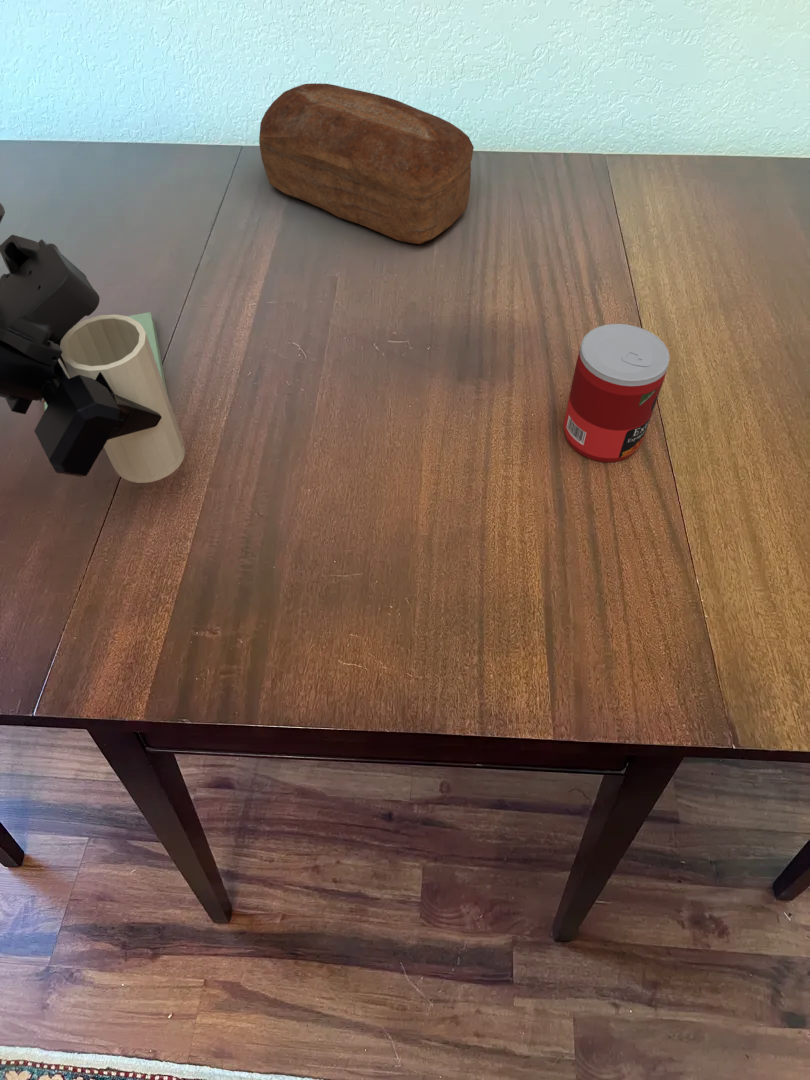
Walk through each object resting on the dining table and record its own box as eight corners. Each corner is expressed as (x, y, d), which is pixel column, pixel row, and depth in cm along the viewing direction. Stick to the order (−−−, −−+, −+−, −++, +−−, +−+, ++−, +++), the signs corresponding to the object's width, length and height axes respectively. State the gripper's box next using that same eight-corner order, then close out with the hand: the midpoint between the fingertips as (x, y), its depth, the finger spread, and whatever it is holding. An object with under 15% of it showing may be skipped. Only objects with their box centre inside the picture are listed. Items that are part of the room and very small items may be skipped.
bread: (424, 264, 96) (425, 167, 86) (252, 193, 105) (235, 98, 95) (484, 211, 102) (491, 115, 92) (317, 148, 112) (307, 55, 102)
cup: (165, 489, 68) (120, 376, 57) (99, 474, 69) (43, 361, 58) (196, 437, 71) (159, 322, 61) (133, 424, 72) (86, 308, 62)
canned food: (634, 473, 76) (663, 389, 67) (553, 452, 77) (571, 368, 68) (648, 419, 80) (677, 333, 71) (571, 400, 82) (590, 315, 73)
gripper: (35, 314, 45) (242, 384, 58) (-47, 171, 54) (146, 257, 67) (-39, 461, 49) (169, 496, 61) (-104, 304, 58) (88, 362, 71)
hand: (143, 396), depth 65 cm, fingers closed on cup, 6 cm apart
